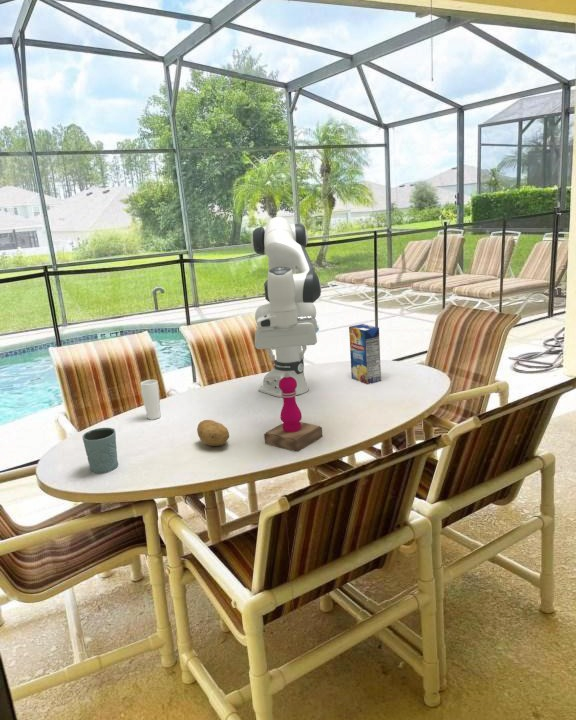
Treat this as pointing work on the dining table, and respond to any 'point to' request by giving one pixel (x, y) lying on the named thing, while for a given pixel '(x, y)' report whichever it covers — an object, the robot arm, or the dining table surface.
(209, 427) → the potato
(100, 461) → the green textured cup
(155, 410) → the drinking glass
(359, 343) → the juice carton
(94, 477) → the dining table surface
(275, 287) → the robot arm
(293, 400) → the pepper mill
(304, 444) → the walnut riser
